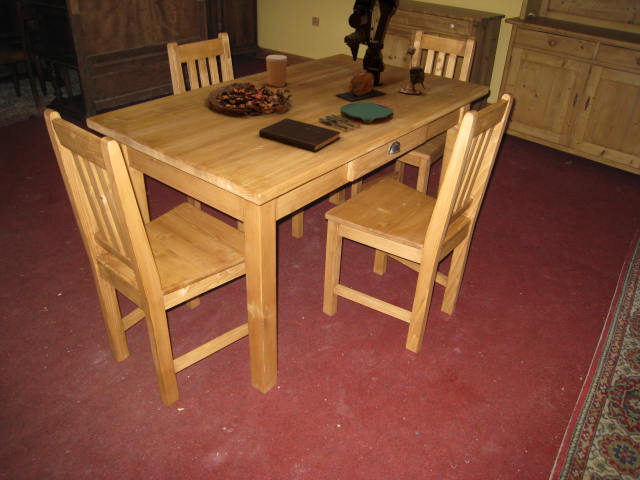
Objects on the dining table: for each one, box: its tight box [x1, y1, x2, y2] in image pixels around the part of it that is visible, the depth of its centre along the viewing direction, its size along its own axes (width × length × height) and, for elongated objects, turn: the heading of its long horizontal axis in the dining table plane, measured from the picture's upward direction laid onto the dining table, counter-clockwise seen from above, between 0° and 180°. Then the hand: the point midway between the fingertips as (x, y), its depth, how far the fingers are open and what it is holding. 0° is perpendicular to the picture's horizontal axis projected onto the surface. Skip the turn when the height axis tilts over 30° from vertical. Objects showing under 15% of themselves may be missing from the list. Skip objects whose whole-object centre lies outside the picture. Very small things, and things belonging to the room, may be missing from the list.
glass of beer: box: [265, 54, 288, 88], centre depth 229 cm, size 9×9×12 cm
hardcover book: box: [258, 117, 341, 152], centre depth 177 cm, size 16×23×2 cm
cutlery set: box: [318, 101, 394, 131], centre depth 196 cm, size 20×30×2 cm, turn 134°
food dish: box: [206, 82, 293, 117], centre depth 205 cm, size 35×33×8 cm
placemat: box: [335, 89, 386, 103], centre depth 223 cm, size 20×10×1 cm, turn 130°
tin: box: [349, 71, 375, 96], centre depth 221 cm, size 15×3×8 cm, turn 139°
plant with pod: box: [399, 45, 426, 95], centre depth 223 cm, size 8×11×20 cm
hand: (362, 63), depth 222 cm, fingers open, 9 cm apart
